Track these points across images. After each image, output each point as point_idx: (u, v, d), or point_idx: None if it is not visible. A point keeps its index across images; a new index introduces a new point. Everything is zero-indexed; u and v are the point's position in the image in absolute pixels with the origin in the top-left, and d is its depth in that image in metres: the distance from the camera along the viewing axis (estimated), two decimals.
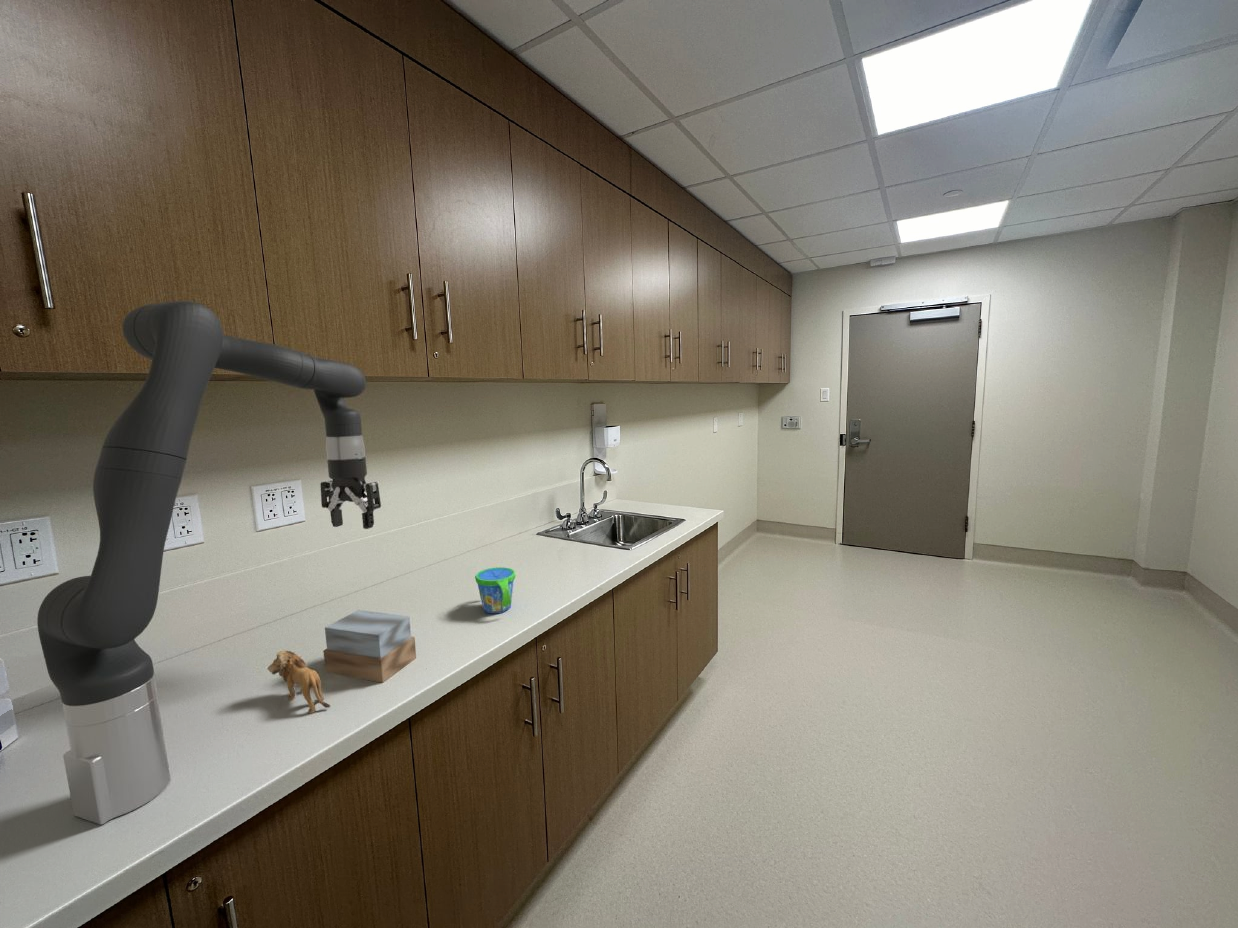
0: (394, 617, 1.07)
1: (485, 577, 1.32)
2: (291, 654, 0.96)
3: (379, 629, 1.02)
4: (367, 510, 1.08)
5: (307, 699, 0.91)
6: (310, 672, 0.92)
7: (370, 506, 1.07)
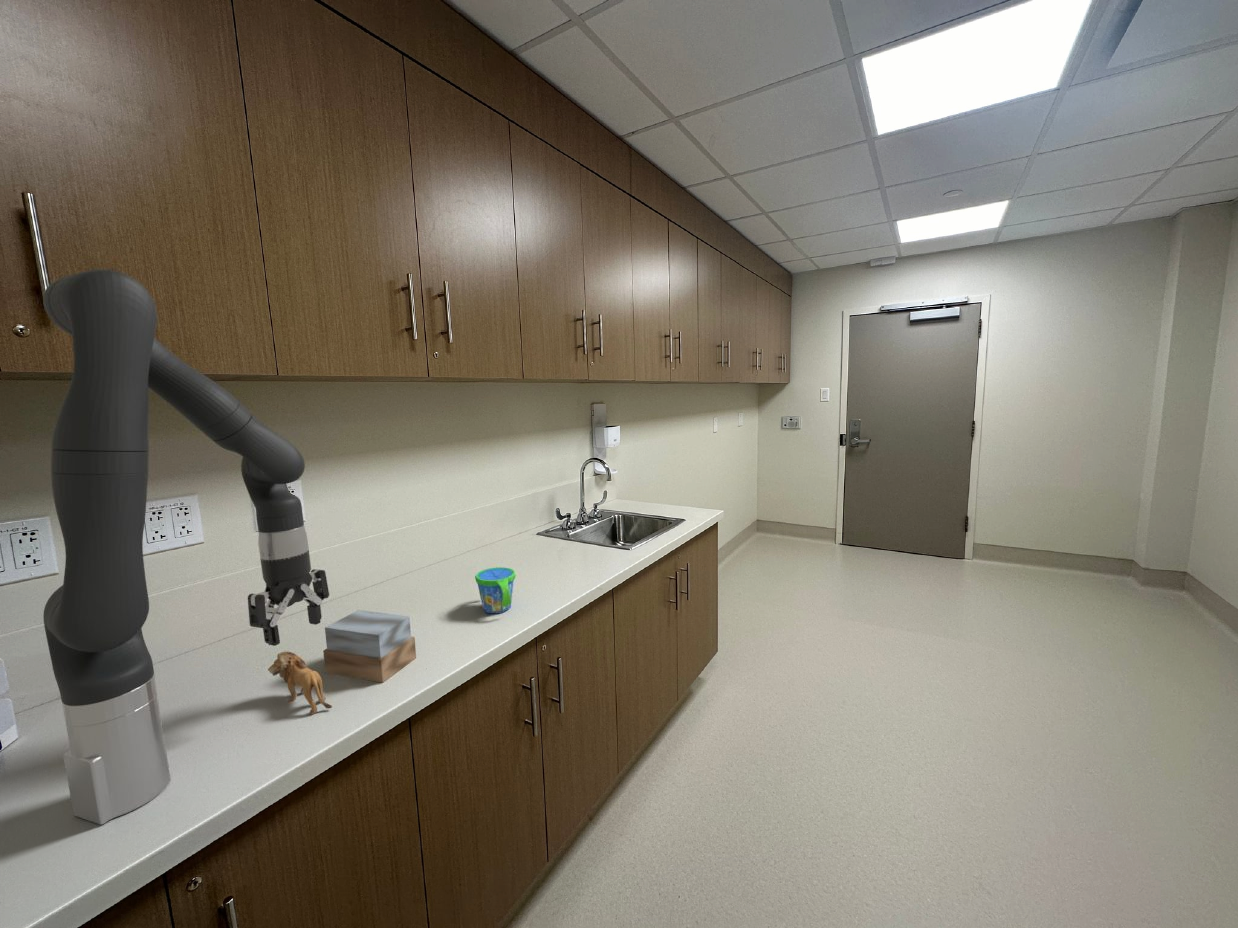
0: (394, 617, 1.07)
1: (485, 577, 1.32)
2: (292, 655, 0.96)
3: (379, 629, 1.02)
4: None
5: (309, 700, 0.90)
6: (311, 672, 0.92)
7: (326, 594, 0.98)
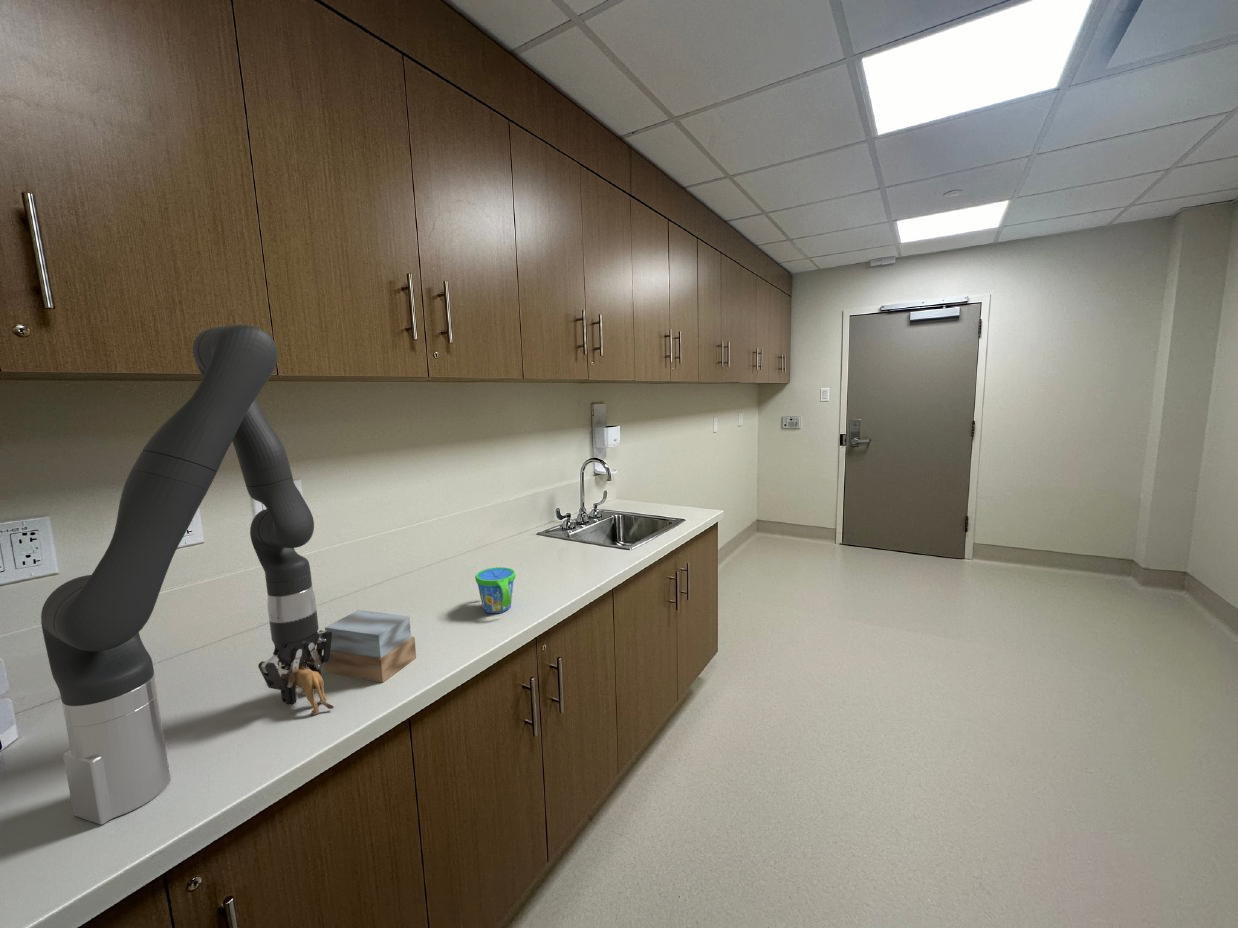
0: (394, 617, 1.07)
1: (485, 577, 1.32)
2: None
3: (379, 629, 1.02)
4: None
5: (310, 700, 0.90)
6: (313, 673, 0.92)
7: (327, 657, 0.99)
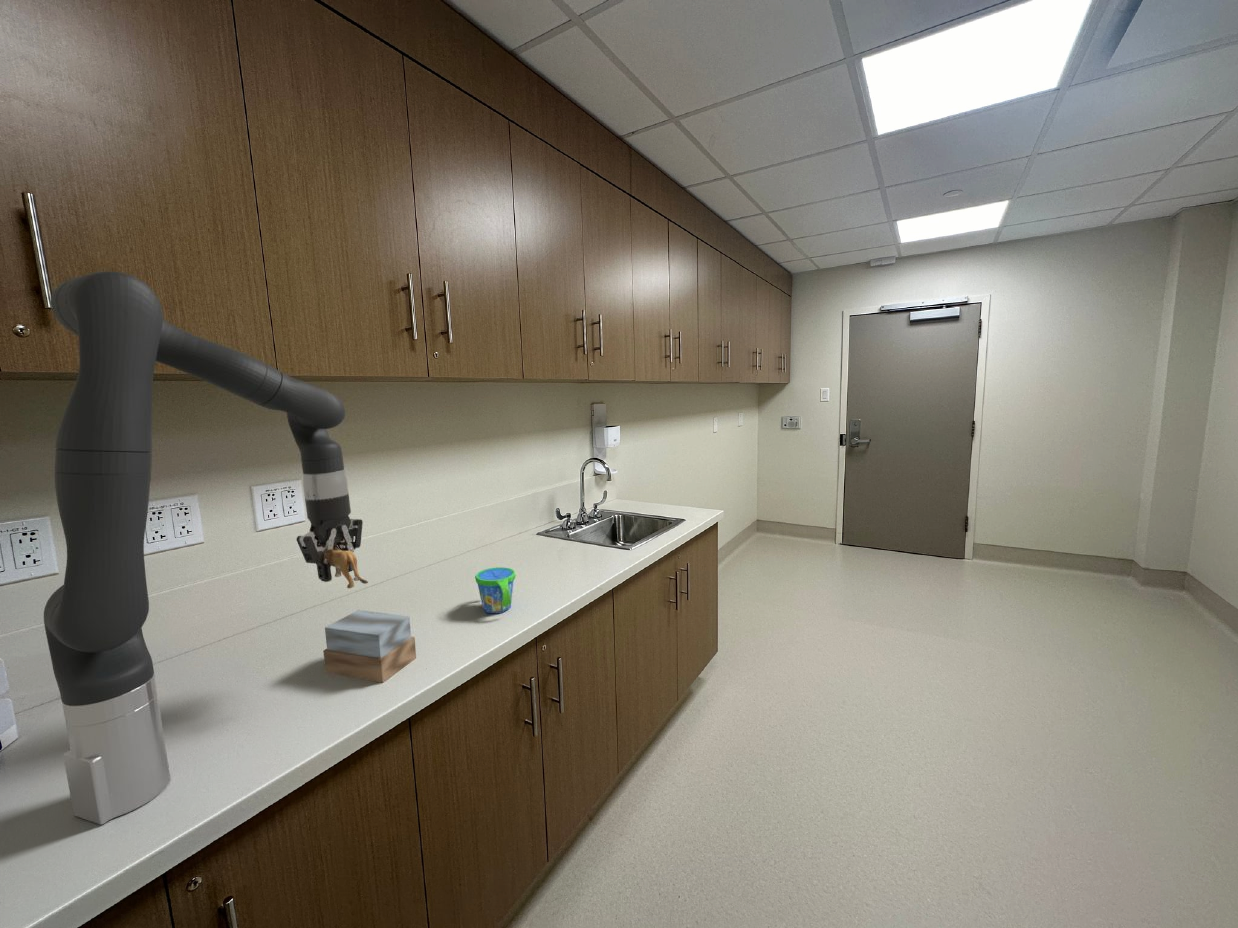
0: (394, 617, 1.07)
1: (485, 577, 1.32)
2: None
3: (379, 629, 1.02)
4: None
5: (346, 575, 0.95)
6: (347, 551, 0.96)
7: (358, 543, 1.03)
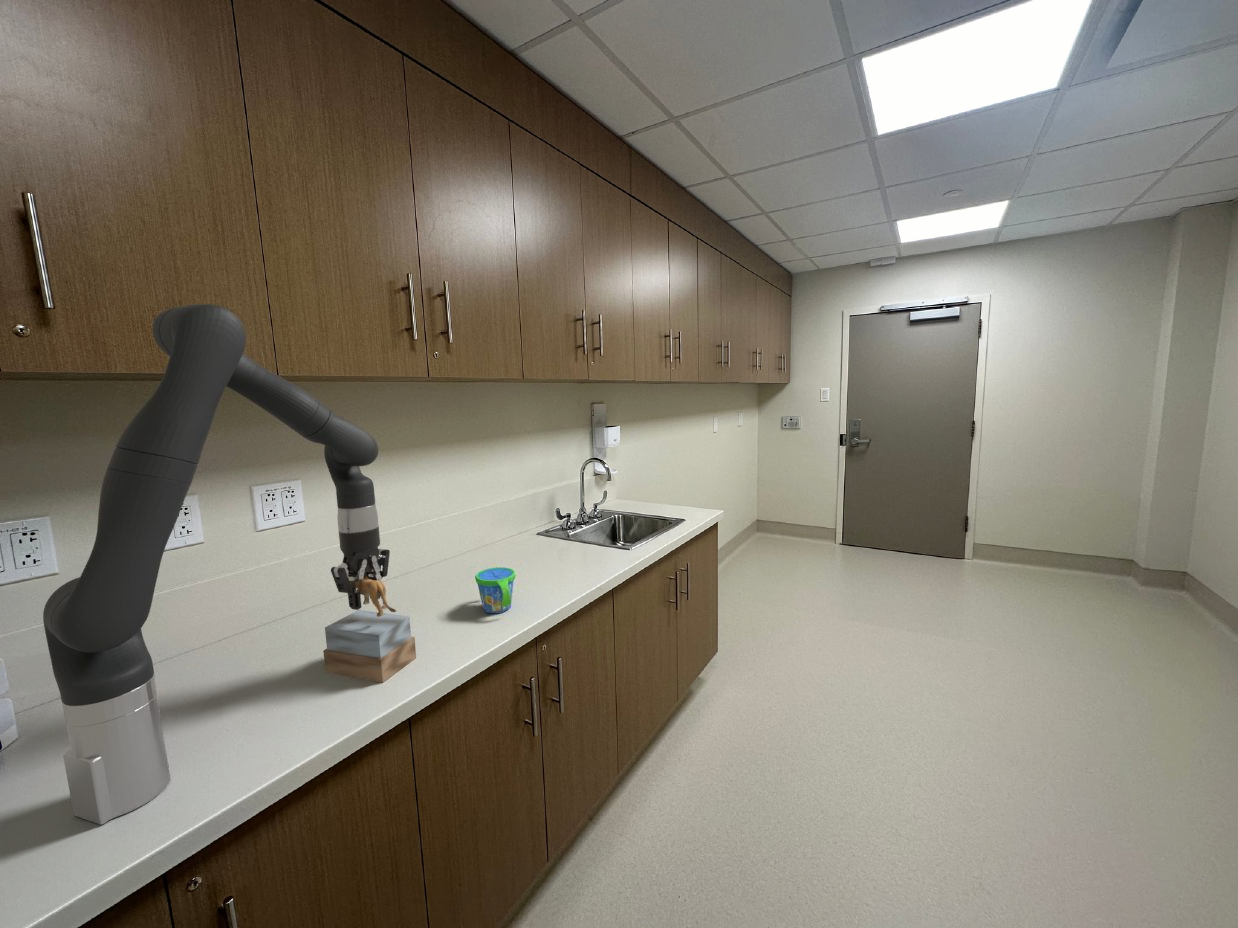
0: (394, 617, 1.07)
1: (485, 577, 1.32)
2: None
3: (379, 629, 1.02)
4: None
5: (376, 604, 1.00)
6: (377, 581, 1.02)
7: (385, 572, 1.09)
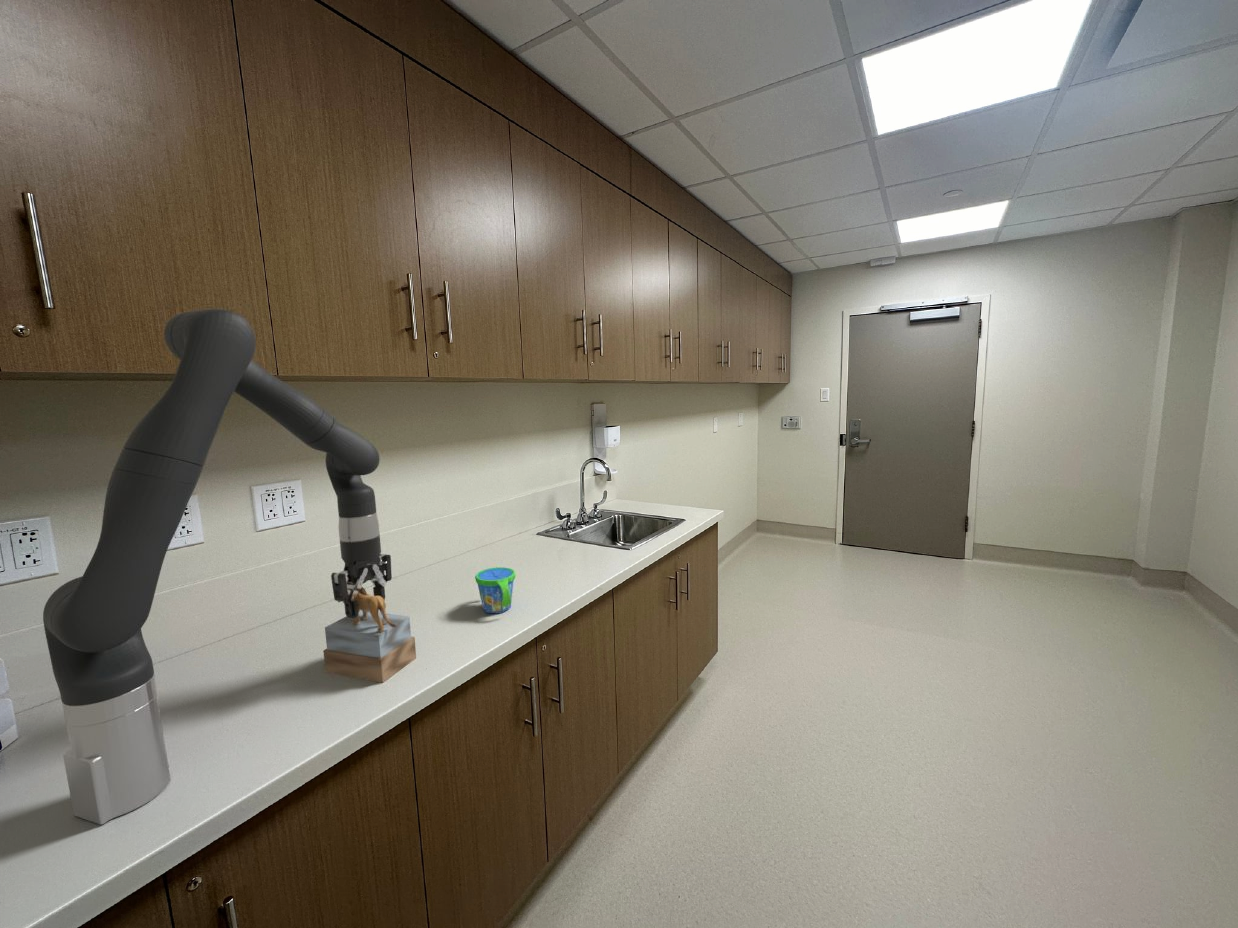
0: (394, 617, 1.07)
1: (485, 577, 1.32)
2: (355, 584, 1.05)
3: None
4: None
5: (376, 619, 1.01)
6: (377, 596, 1.02)
7: (389, 576, 1.10)
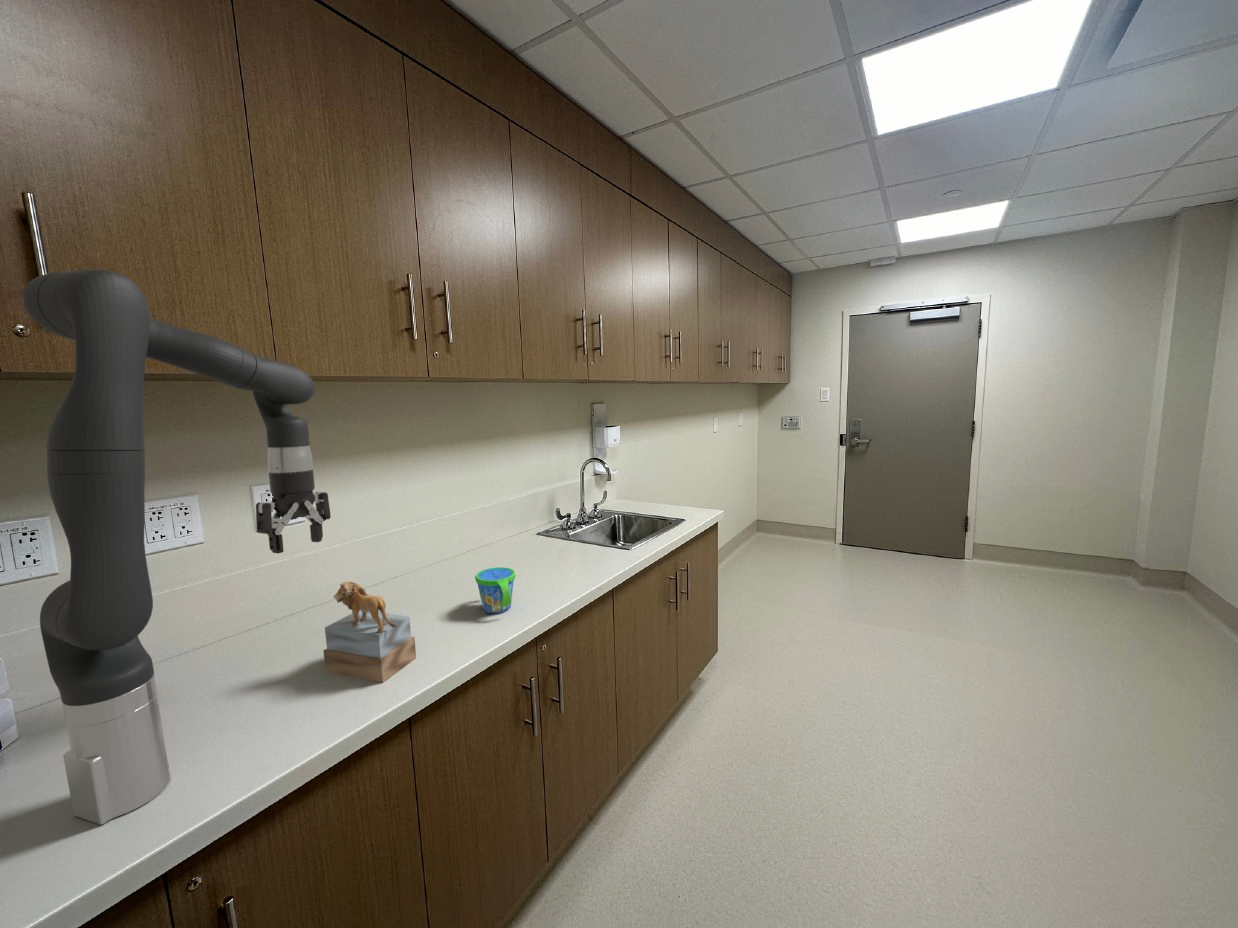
0: (394, 617, 1.07)
1: (485, 577, 1.32)
2: (354, 584, 1.05)
3: None
4: None
5: (376, 620, 1.00)
6: (377, 596, 1.02)
7: (328, 515, 1.06)
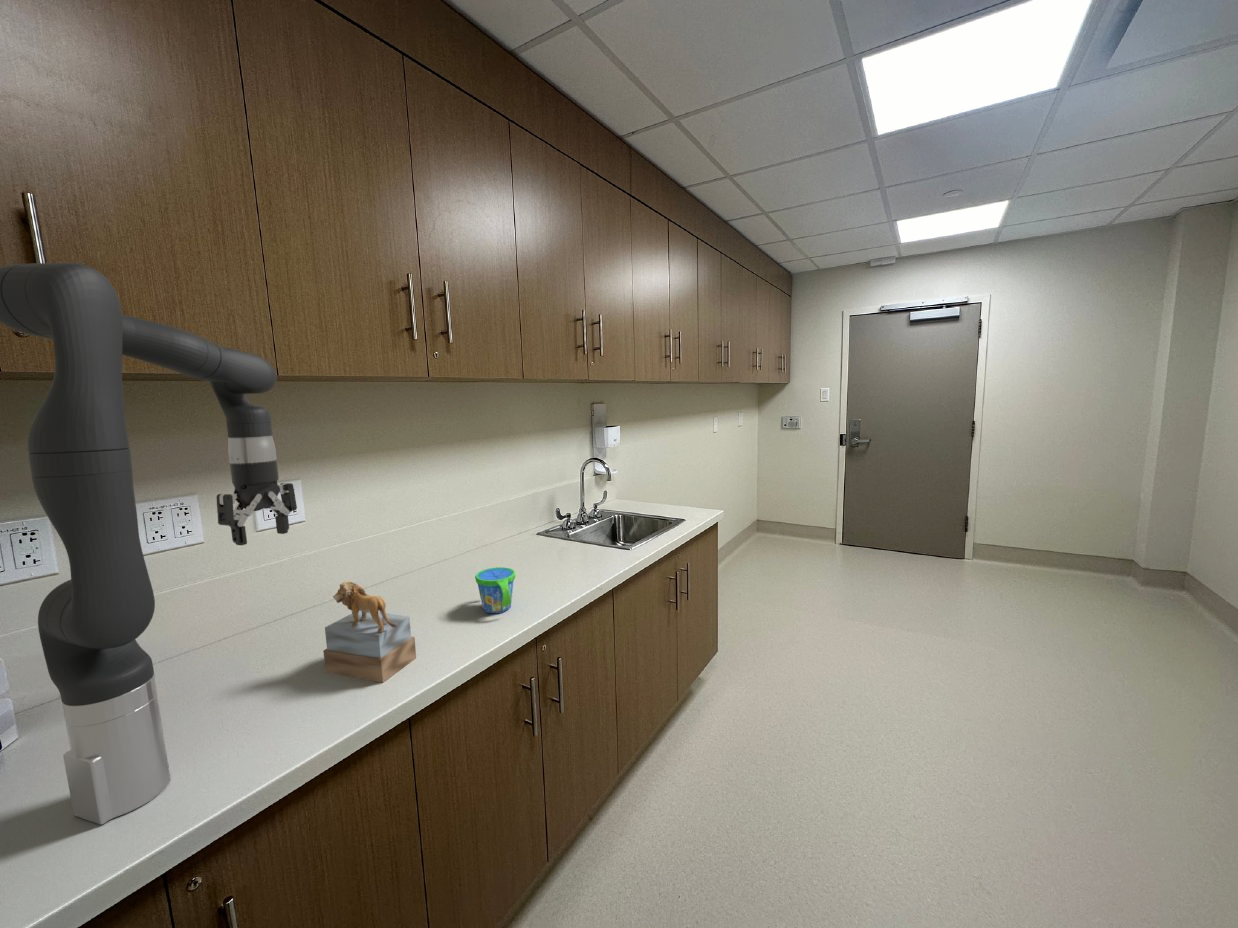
0: (394, 617, 1.07)
1: (485, 577, 1.32)
2: (354, 584, 1.05)
3: None
4: None
5: (376, 620, 1.00)
6: (377, 596, 1.02)
7: (294, 506, 1.04)
